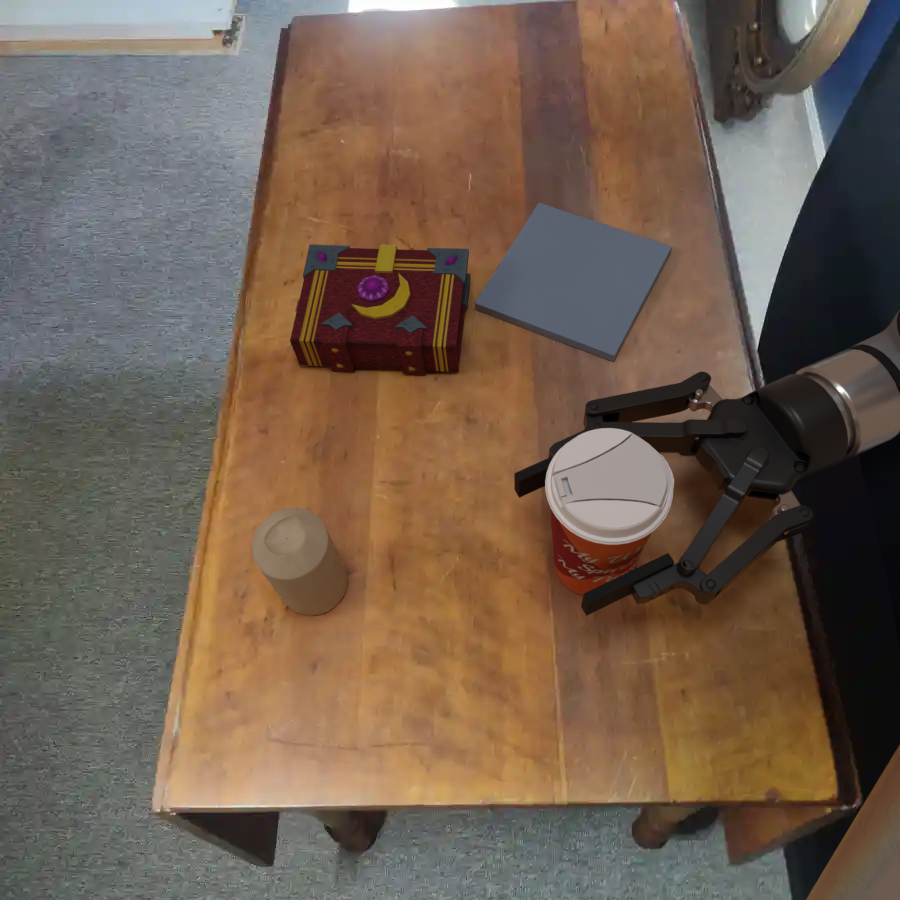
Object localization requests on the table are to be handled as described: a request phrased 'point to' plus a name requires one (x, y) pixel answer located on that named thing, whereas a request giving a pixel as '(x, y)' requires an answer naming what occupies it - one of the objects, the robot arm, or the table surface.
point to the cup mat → (574, 280)
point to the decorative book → (382, 308)
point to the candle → (300, 561)
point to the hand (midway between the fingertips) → (549, 543)
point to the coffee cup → (604, 505)
